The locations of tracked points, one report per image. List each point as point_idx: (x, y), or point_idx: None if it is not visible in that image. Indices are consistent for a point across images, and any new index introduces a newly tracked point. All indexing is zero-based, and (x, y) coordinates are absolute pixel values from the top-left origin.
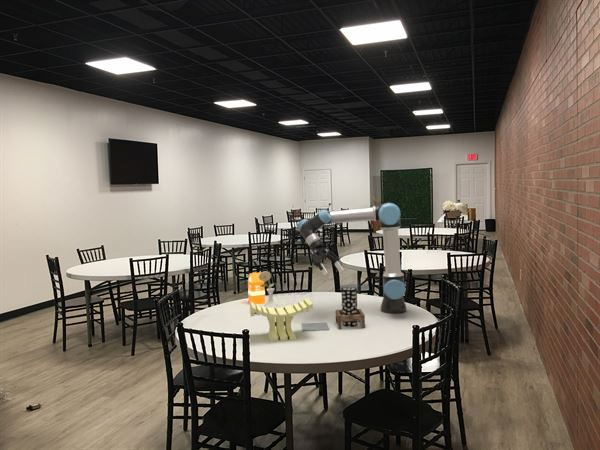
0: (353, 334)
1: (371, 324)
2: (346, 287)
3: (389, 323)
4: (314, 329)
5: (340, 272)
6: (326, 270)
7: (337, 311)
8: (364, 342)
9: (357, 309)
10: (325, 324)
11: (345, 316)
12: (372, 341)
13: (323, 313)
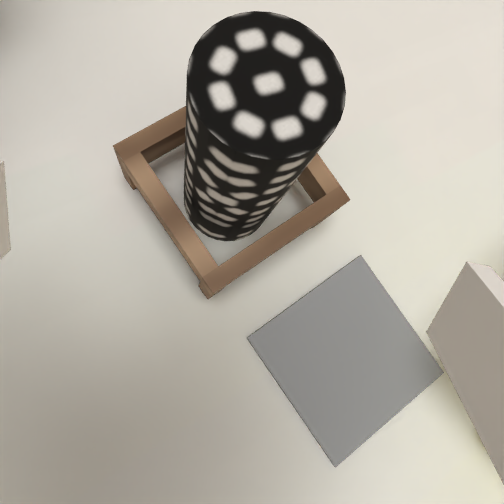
0: (362, 121)
1: (163, 102)
2: (222, 130)
3: (104, 25)
4: (399, 325)
5: (6, 238)
6: (497, 295)
7: (249, 257)
8: (434, 42)
9: (140, 157)
10: (290, 321)
11: (322, 164)
12: (407, 18)
13: (30, 496)
